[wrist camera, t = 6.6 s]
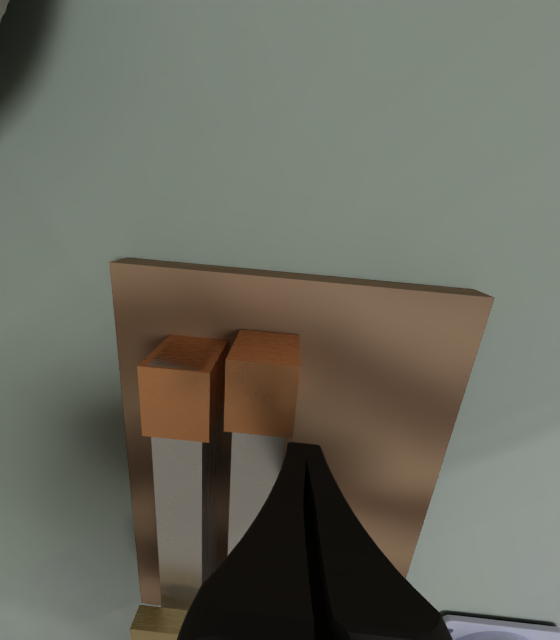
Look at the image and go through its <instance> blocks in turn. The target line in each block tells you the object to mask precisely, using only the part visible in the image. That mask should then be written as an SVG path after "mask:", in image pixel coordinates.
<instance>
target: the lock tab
mask: <svg viewBox="0 0 560 640" xmlns="http://www.w3.org/2000/svg"><path fill="white" fill-rule="evenodd" d="M187 612H188V610H180V609H171V608H162V607H154V606H145V605H139V608H138V610H137V613H136V615H135V618H134V620H133V623H132V625H131V628H130V634H131V640H177V638H178V634H179V631H180V629H181V626H182V624H183V621H184V619H185V616H186V614H187Z"/></svg>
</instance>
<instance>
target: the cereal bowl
mask: <svg viewBox="0 0 560 640" xmlns="http://www.w3.org/2000/svg"><path fill="white" fill-rule="evenodd" d="M9 1H10V0H0V23H1V19H2V16H3V15H4V13H5V12H6V7H7V4H8V2H9Z"/></svg>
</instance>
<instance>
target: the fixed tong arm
mask: <svg viewBox="0 0 560 640" xmlns="http://www.w3.org/2000/svg"><path fill="white" fill-rule="evenodd" d="M227 356H228V340H224V339H213V338H203V337H192V336H182V335H172V334H171V335H169V336H168V337H167V338H166V339H165V340H164V341H163V342H162V343H161V344H160V345H159V346H158V347H157V348H156V349H155V350H154V351H153V352H151V353H150V354H149V355H148V356H147V357H146V358H145V359H144V360H143V361H142V362H141V363H140V364H139V365H138V366H137V373H138V386H139V400H140V414H141V427H142V436H148V437H151V443H152V459H153V476H154V492H155V508H156V524H157V540H158V556H159V573H160V589H161V605H162V608H171V609H180V610H189V608H190V606H191V604H192V602H193V600H194V598H195V596H196V594H197V593H198V591H199V589H200V587H201V585H202V584H203V583H204V582H205V581H206V580H207V579H208V577H209V576H210V575H211V574H212V573H213V572H214V571H215V570H216V545H217V504H218V462H219V421H220V413H221V410H222V408H223V405H224V402H225V363H226V358H227Z"/></svg>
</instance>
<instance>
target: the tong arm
mask: <svg viewBox="0 0 560 640" xmlns="http://www.w3.org/2000/svg"><path fill="white" fill-rule="evenodd" d="M300 367H301V364H300V335H295V334H284V333H274V332H263V331H252V330H241V329H240V331H239V333H238V335H237V337H236V339H235V341H234V343H233V345H232V347H231V350H230V352H229V354H228V356H227V358H226V363H225V402H224V432H232V449H231V477H230V504H229V532H228V555H229V554H230V552H231V551H232V550H233V549H234V547H235V546H236V545H237V544H238V542H239V541H240V540H241V538H242V537H243V536H244V534H245V533H246V531H247V530H248V529H249V527H250V526H251V524H252V523H253V521H254V520H255V518H256V517H257V515H258V513H259V512H260V510H261V508H262V507H263V505H264V503H265V501H266V500H267V498H268V496H269V494H270V492H271V490H272V488H273V486H274V484H275V482H276V479H277V477H278V475H279V472H280V470H281V466H282V456H283V447H284V437H285V438H293V429H294V421H295V412H296V403H297V394H298V385H299V376H300Z"/></svg>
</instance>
